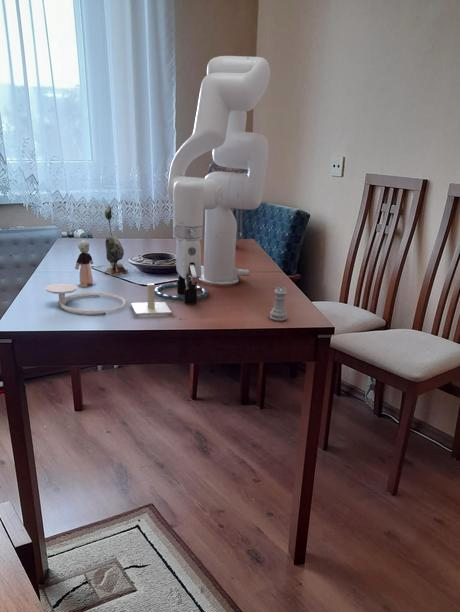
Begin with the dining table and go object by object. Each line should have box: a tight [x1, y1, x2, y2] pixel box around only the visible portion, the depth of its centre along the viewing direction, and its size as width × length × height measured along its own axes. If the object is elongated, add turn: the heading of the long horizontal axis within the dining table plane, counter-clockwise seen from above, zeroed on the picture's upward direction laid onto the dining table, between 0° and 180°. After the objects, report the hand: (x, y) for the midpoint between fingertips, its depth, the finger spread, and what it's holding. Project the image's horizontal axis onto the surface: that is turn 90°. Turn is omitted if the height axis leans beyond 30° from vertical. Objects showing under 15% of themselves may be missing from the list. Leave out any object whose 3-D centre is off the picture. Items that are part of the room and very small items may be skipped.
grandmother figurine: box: [74, 239, 94, 288], centre depth 158 cm, size 8×4×13 cm, turn 168°
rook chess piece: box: [269, 286, 288, 322], centre depth 140 cm, size 4×4×8 cm
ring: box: [155, 283, 210, 302], centre depth 156 cm, size 15×15×2 cm
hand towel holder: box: [44, 282, 127, 316], centre depth 143 cm, size 17×4×21 cm
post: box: [130, 282, 173, 316], centre depth 140 cm, size 9×9×7 cm
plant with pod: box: [104, 205, 130, 276], centre depth 170 cm, size 8×11×20 cm
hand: (186, 298), depth 150 cm, fingers open, 8 cm apart
